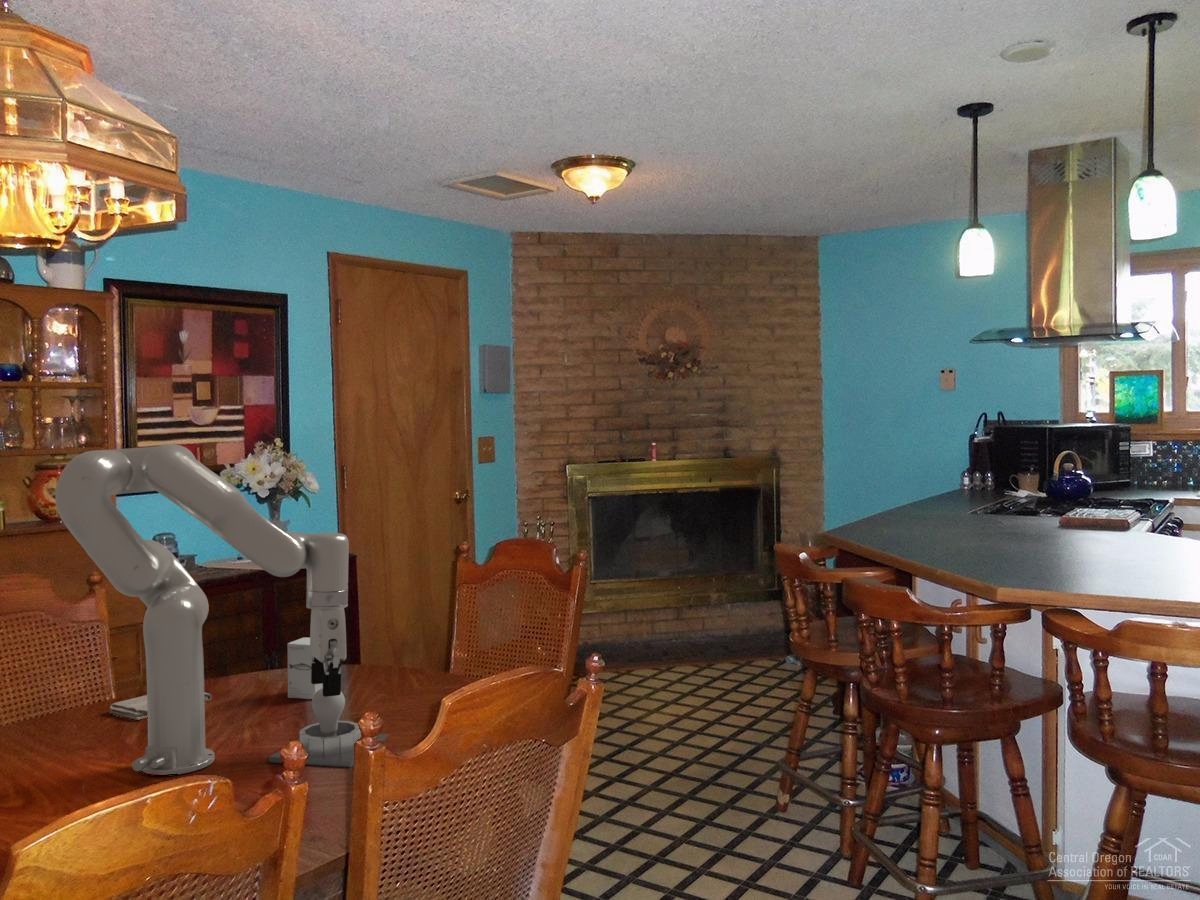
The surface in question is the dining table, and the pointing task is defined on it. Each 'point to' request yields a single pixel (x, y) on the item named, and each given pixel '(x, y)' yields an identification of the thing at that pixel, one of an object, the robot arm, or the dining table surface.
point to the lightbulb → (328, 711)
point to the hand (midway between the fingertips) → (325, 689)
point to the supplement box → (300, 670)
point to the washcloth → (136, 707)
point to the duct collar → (329, 745)
